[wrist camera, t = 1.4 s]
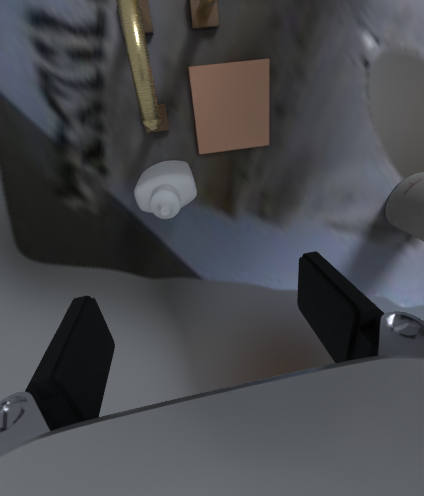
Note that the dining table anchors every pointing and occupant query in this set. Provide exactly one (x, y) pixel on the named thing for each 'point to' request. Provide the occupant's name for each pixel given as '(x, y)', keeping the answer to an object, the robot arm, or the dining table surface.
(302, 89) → the dining table surface
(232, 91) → the terracotta tile
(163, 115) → the bent handrail
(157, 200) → the eye dropper bottle
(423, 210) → the thermos bottle
